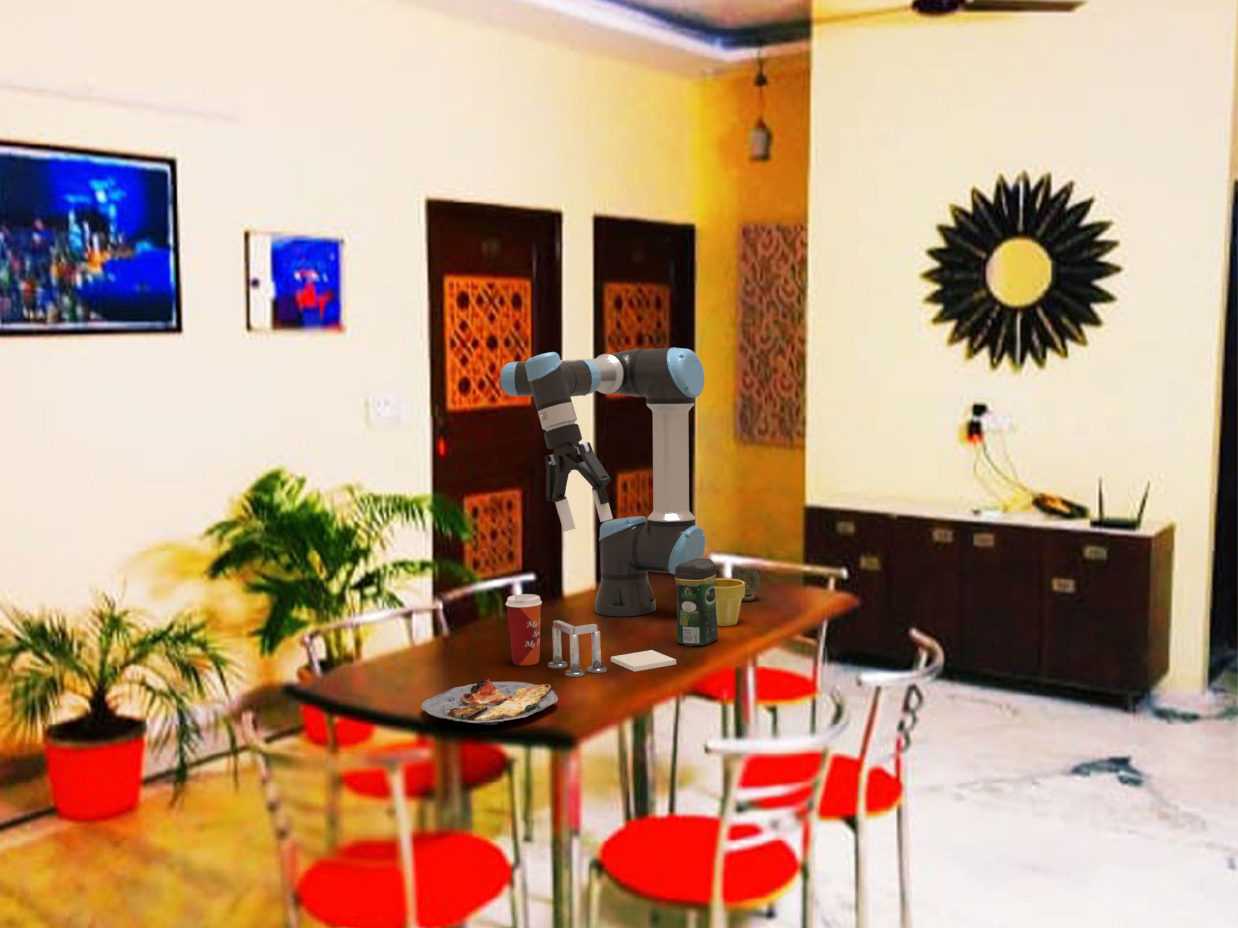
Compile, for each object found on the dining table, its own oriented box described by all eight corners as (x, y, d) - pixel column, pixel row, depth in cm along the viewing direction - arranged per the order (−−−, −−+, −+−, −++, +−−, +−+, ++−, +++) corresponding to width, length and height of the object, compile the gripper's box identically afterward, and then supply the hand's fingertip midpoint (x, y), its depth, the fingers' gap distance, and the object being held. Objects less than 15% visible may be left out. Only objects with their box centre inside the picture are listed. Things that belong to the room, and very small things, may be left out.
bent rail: (544, 665, 272) (543, 620, 271) (583, 659, 276) (581, 614, 275) (570, 678, 261) (569, 630, 260) (610, 671, 266) (608, 624, 265)
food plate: (481, 684, 258) (480, 667, 257) (580, 700, 246) (580, 682, 246) (399, 722, 237) (398, 704, 236) (504, 741, 225) (503, 721, 224)
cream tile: (610, 661, 274) (610, 656, 274) (651, 654, 278) (651, 649, 278) (634, 671, 265) (634, 666, 265) (676, 664, 270) (676, 659, 270)
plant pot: (753, 625, 303) (752, 583, 302) (712, 629, 300) (711, 588, 299) (734, 616, 313) (733, 576, 312) (694, 620, 309) (693, 580, 308)
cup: (741, 596, 336) (741, 565, 335) (766, 598, 332) (766, 568, 331) (726, 601, 330) (726, 570, 329) (752, 604, 326) (751, 572, 325)
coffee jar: (691, 635, 295) (689, 554, 293) (722, 638, 291) (721, 557, 289) (670, 644, 287) (668, 561, 285) (702, 648, 283) (700, 564, 281)
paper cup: (538, 667, 271) (536, 601, 269) (503, 666, 272) (500, 600, 271) (548, 657, 278) (546, 593, 277) (513, 657, 280) (511, 593, 278)
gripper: (514, 442, 277) (540, 538, 277) (579, 417, 258) (608, 520, 257) (542, 435, 282) (568, 530, 281) (609, 410, 262) (637, 511, 262)
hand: (587, 525), depth 269 cm, fingers open, 13 cm apart
